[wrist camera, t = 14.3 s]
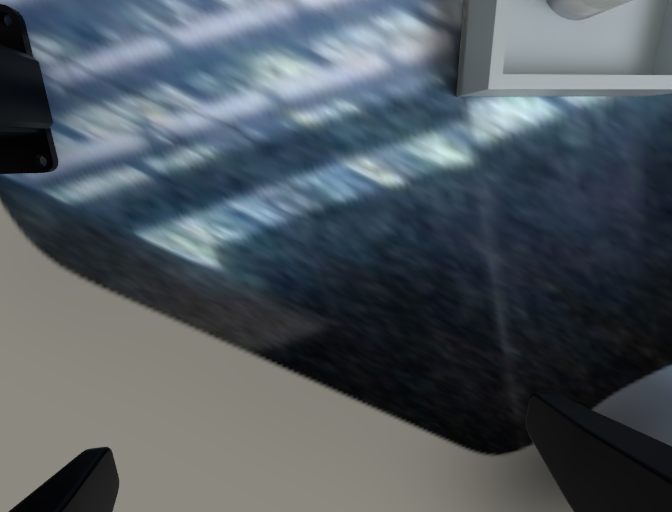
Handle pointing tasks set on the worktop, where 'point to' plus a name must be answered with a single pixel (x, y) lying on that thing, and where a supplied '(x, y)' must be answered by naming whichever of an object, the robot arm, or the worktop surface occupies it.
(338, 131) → the worktop surface
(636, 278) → the worktop surface
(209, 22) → the worktop surface
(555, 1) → the white domed canister
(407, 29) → the worktop surface
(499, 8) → the tray
